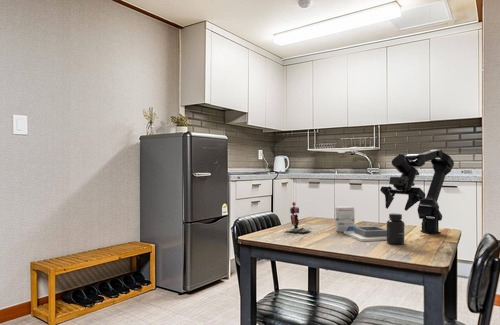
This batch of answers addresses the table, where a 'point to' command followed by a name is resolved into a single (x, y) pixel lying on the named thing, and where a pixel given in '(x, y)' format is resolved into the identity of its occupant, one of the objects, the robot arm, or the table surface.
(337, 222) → the ink box
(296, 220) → the statue
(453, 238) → the table surface
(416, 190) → the robot arm
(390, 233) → the supplement bottle
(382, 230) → the pocket plate
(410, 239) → the table surface
